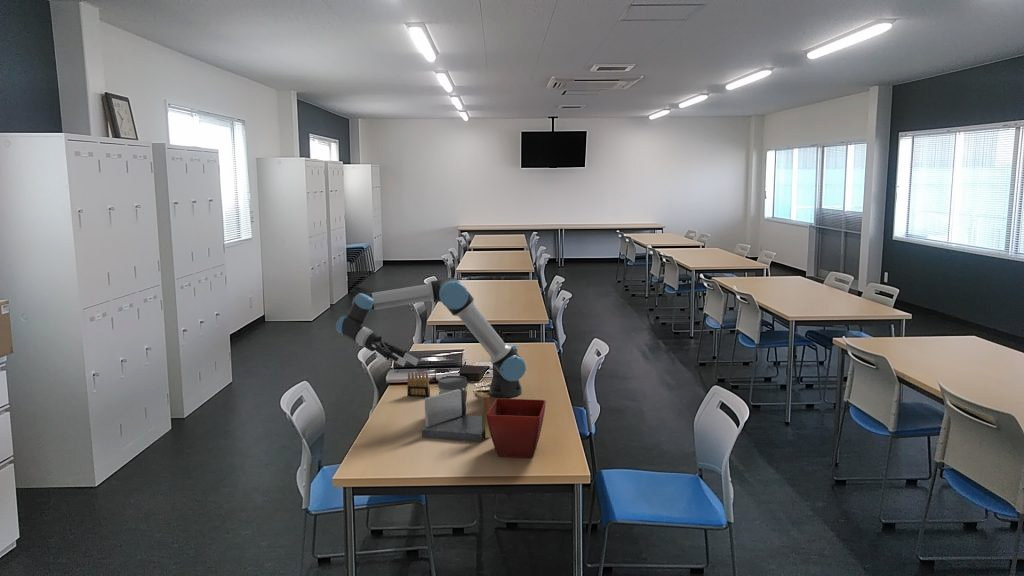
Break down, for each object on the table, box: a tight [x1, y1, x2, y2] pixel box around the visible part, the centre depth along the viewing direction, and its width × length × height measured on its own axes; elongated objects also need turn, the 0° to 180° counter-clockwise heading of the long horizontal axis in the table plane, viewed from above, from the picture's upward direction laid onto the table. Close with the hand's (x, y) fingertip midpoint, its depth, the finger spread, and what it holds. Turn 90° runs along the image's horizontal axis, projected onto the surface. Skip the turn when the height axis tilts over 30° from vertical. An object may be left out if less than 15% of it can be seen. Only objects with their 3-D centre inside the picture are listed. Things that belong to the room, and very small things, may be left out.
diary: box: [433, 364, 491, 383], centre depth 356 cm, size 19×25×5 cm
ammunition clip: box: [406, 371, 431, 398], centre depth 323 cm, size 11×2×12 cm, turn 77°
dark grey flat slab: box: [421, 414, 485, 443], centre depth 277 cm, size 20×24×3 cm
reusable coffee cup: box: [437, 376, 468, 399], centre depth 298 cm, size 12×13×15 cm
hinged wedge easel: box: [424, 388, 467, 427], centre depth 279 cm, size 20×3×11 cm, turn 134°
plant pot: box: [487, 397, 546, 459], centre depth 253 cm, size 19×19×17 cm
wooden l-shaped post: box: [474, 391, 492, 440], centre depth 270 cm, size 3×7×16 cm, turn 30°
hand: (411, 363), depth 286 cm, fingers open, 13 cm apart
